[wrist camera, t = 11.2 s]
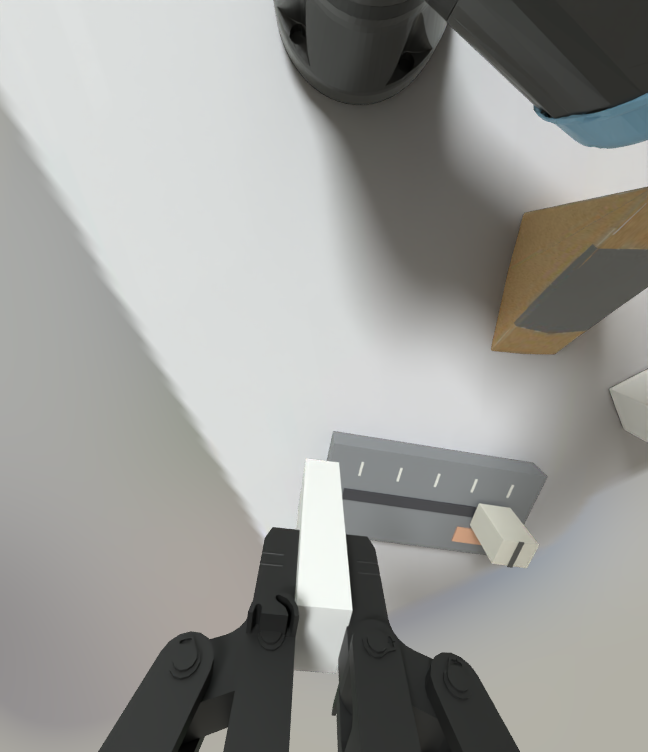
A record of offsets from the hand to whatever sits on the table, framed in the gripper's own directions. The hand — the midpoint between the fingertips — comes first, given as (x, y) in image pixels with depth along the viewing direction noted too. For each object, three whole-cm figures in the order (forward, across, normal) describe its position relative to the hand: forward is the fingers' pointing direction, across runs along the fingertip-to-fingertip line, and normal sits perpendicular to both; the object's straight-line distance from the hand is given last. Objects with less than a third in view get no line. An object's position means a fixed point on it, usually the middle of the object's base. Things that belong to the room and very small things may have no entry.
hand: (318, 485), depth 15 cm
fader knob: (+22, +26, -19) cm, 39 cm away
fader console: (+26, +17, -19) cm, 36 cm away
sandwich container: (+27, +24, +10) cm, 37 cm away
